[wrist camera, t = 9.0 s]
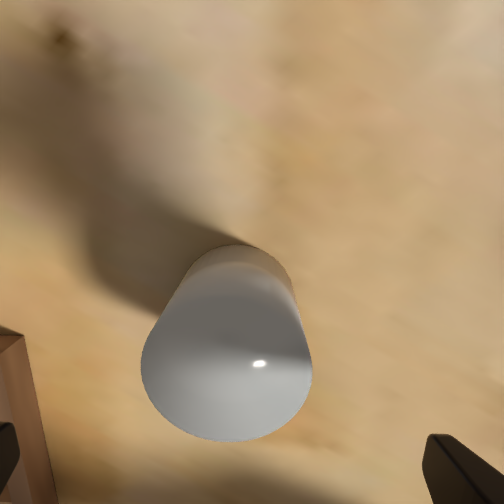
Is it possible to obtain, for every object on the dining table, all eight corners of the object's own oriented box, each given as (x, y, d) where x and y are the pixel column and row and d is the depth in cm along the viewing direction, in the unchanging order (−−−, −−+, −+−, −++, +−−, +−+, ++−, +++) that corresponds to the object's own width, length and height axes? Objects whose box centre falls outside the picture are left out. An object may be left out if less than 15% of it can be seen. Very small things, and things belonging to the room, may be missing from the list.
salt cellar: (296, 245, 13) (318, 297, 8) (291, 349, 15) (306, 444, 10) (178, 243, 13) (133, 293, 9) (183, 346, 15) (147, 439, 10)
